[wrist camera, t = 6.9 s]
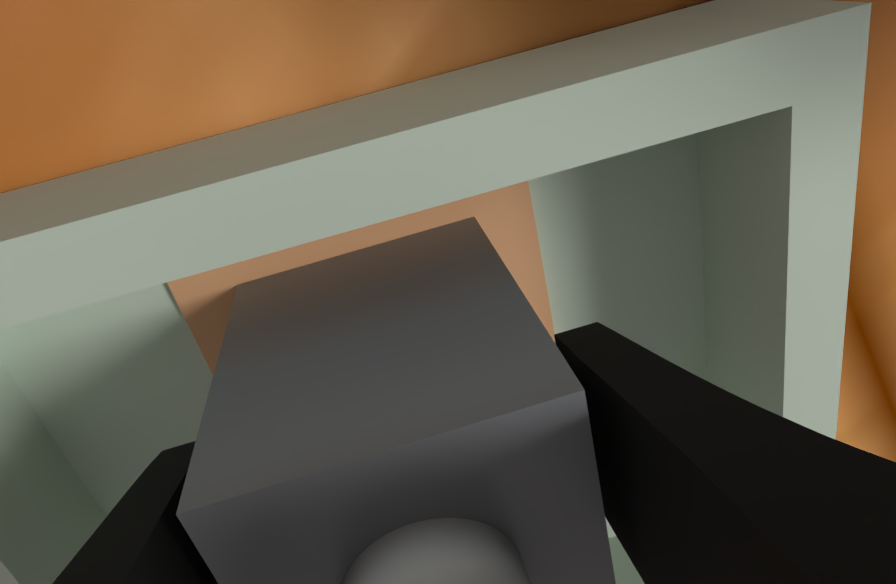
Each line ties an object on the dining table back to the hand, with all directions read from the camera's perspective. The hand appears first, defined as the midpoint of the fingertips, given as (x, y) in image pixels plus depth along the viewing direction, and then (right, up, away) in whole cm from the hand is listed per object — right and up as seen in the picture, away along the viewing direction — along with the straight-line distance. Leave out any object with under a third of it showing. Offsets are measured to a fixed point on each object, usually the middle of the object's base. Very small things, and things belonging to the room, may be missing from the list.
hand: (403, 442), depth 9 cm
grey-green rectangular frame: (0, 0, +4) cm, 4 cm away
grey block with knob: (0, +1, +3) cm, 3 cm away
